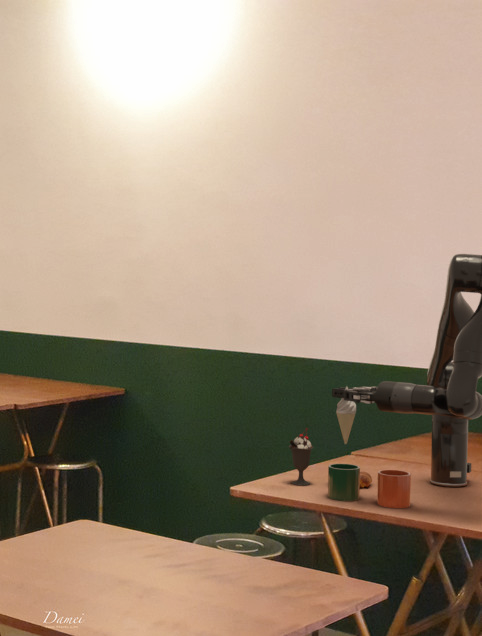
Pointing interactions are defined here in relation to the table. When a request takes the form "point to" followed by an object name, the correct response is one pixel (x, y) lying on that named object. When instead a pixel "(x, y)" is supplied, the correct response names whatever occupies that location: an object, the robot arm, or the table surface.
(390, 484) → the cup
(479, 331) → the robot arm
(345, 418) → the ice cream cone
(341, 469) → the stand
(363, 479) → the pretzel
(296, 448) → the sundae
